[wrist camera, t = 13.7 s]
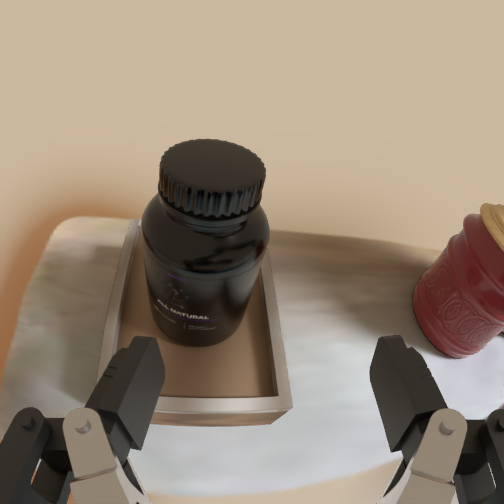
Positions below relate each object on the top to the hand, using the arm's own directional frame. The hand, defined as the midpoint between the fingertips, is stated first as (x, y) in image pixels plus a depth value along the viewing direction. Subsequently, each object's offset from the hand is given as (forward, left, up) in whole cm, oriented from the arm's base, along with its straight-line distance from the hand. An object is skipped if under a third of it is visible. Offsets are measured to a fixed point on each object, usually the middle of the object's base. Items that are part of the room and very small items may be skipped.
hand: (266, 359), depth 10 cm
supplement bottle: (+2, -8, -9) cm, 12 cm away
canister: (-28, -9, -14) cm, 33 cm away
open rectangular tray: (+3, -8, -14) cm, 16 cm away
